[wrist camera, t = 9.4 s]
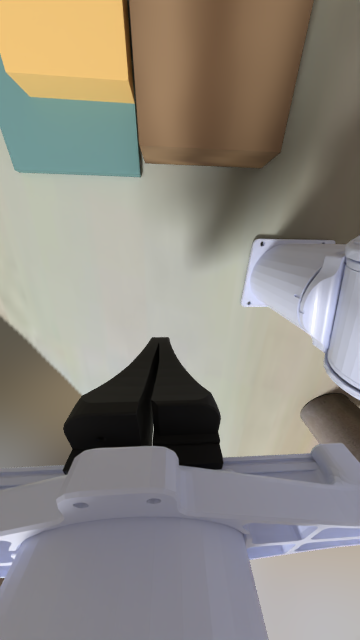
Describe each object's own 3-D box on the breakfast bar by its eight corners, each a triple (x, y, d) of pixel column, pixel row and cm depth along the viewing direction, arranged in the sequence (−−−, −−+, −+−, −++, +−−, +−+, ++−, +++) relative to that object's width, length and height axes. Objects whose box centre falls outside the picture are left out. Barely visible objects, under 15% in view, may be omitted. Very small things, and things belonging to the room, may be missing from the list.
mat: (117, -149, 9) (114, -170, 8) (140, 177, 15) (139, 174, 15) (-97, -179, 8) (-112, -203, 8) (19, 172, 14) (14, 170, 14)
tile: (125, -25, 10) (115, -82, 8) (134, 103, 13) (128, 80, 11) (-6, -39, 10) (-46, -101, 8) (29, 96, 12) (5, 72, 10)
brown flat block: (308, -88, 10) (360, -212, 7) (261, 168, 15) (280, 152, 12) (128, -111, 9) (111, -253, 7) (145, 163, 15) (139, 145, 12)
